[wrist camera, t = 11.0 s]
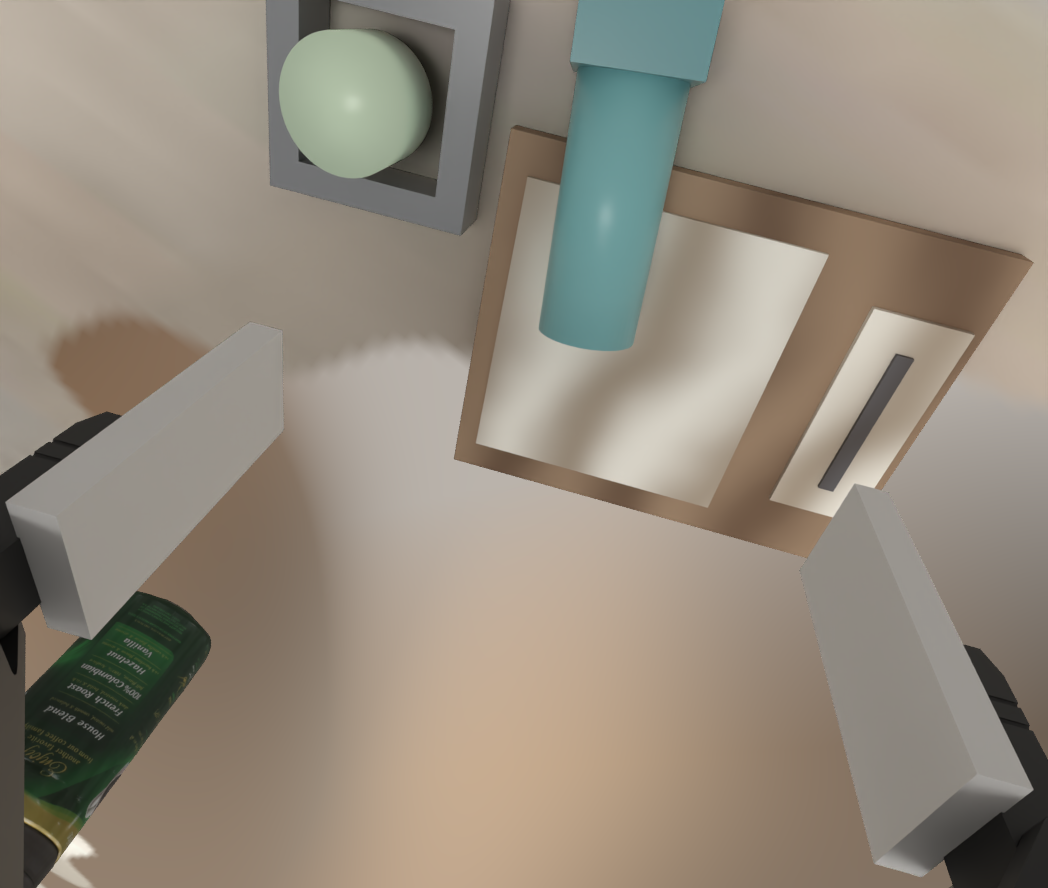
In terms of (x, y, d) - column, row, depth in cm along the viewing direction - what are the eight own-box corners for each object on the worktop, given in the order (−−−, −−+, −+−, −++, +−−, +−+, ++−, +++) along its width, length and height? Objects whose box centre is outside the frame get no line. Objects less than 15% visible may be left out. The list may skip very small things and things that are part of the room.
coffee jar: (132, 569, 46) (-139, 845, 30) (230, 630, 47) (20, 920, 32) (95, 630, 51) (-152, 894, 35) (185, 683, 52) (-14, 955, 37)
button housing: (299, 173, 28) (270, 185, 26) (299, -55, 24) (264, -62, 22) (476, 219, 28) (460, 235, 26) (510, -2, 23) (495, -4, 21)
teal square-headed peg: (528, 341, 24) (583, -34, 19) (537, 312, 28) (585, -7, 23) (641, 359, 24) (727, -13, 19) (635, 328, 28) (705, 11, 22)
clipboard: (459, 448, 35) (451, 464, 33) (516, 125, 26) (508, 130, 24) (827, 551, 34) (833, 571, 33) (1021, 254, 25) (1040, 267, 23)
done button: (317, 147, 25) (280, 160, 23) (320, 15, 23) (277, 14, 20) (425, 175, 25) (398, 192, 23) (439, 45, 23) (411, 48, 20)
